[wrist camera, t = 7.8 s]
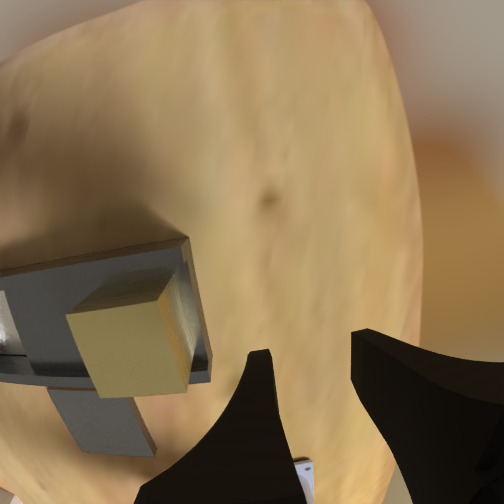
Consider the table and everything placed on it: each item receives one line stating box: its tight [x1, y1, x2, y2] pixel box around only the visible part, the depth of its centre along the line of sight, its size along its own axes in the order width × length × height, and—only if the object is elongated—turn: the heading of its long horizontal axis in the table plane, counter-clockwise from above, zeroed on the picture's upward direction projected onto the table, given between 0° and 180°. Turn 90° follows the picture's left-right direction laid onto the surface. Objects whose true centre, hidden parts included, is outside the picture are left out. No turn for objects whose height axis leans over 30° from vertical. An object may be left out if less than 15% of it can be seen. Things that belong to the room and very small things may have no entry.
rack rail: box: [0, 237, 213, 388], centre depth 16 cm, size 8×21×3 cm, turn 98°
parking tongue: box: [47, 386, 157, 457], centre depth 19 cm, size 7×7×1 cm
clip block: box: [66, 274, 194, 398], centre depth 14 cm, size 4×4×4 cm
